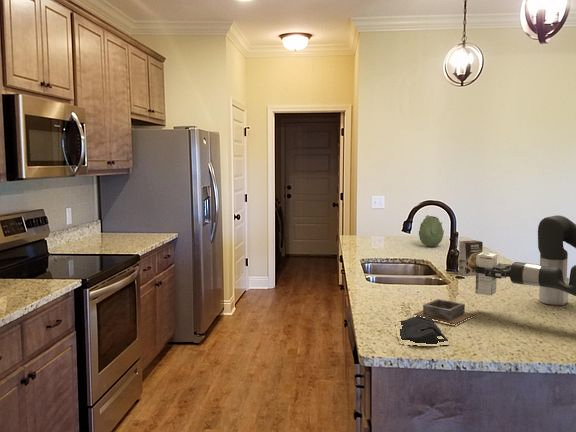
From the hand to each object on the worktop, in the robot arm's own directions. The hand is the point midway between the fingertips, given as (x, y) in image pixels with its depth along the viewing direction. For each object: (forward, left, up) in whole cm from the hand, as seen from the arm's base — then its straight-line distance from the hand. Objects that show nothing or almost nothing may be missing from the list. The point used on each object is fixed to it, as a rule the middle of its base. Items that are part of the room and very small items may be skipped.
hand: (479, 267), depth 180 cm
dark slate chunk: (+3, +36, -17) cm, 40 cm away
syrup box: (-2, 0, -9) cm, 10 cm away
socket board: (+6, +15, -16) cm, 23 cm away
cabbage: (+83, -110, -16) cm, 139 cm away
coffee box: (+29, -53, -16) cm, 62 cm away
